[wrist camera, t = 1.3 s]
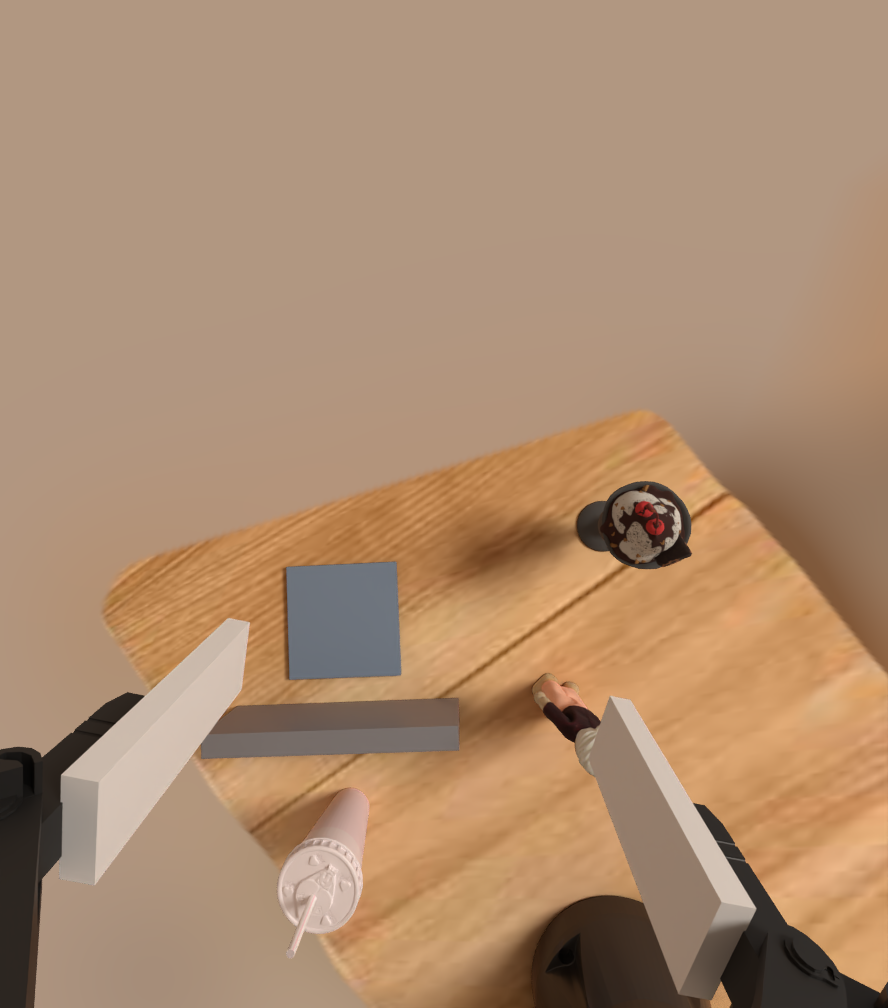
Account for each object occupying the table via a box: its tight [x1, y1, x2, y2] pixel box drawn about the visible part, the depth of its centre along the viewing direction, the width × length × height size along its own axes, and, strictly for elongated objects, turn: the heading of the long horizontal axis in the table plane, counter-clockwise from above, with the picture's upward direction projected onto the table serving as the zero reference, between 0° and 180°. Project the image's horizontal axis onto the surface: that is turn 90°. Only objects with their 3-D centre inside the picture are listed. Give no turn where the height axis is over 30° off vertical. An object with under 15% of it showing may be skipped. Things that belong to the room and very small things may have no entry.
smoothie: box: [277, 788, 369, 958], centre depth 35 cm, size 6×6×14 cm
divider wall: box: [201, 698, 459, 759], centre depth 39 cm, size 2×22×6 cm, turn 93°
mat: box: [286, 562, 401, 680], centre depth 43 cm, size 11×11×1 cm
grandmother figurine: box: [532, 673, 601, 778], centre depth 35 cm, size 8×4×13 cm, turn 78°
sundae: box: [577, 481, 692, 569], centre depth 35 cm, size 7×7×15 cm
